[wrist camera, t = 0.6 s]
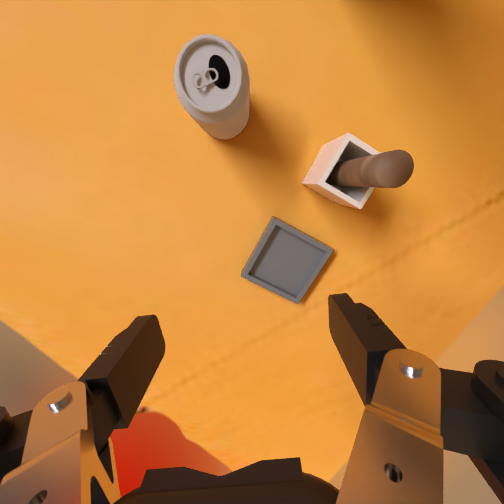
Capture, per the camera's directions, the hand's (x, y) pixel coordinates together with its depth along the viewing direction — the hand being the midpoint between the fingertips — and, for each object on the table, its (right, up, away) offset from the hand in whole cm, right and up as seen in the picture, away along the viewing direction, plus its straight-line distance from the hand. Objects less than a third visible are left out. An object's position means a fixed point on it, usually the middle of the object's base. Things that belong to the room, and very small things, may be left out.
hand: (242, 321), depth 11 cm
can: (-4, +23, +22) cm, 32 cm away
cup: (+12, +15, +25) cm, 31 cm away
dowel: (+12, +15, +24) cm, 31 cm away
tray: (+6, +2, +28) cm, 29 cm away
